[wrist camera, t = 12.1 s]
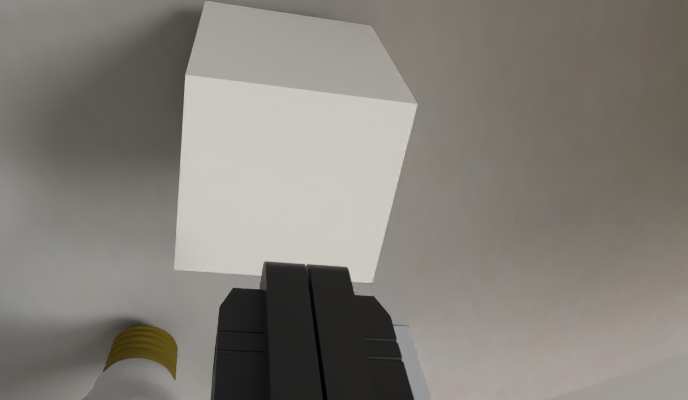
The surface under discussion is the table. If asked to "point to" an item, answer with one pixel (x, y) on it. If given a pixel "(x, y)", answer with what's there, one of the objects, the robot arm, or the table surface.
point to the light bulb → (139, 367)
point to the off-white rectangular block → (288, 143)
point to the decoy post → (412, 363)
